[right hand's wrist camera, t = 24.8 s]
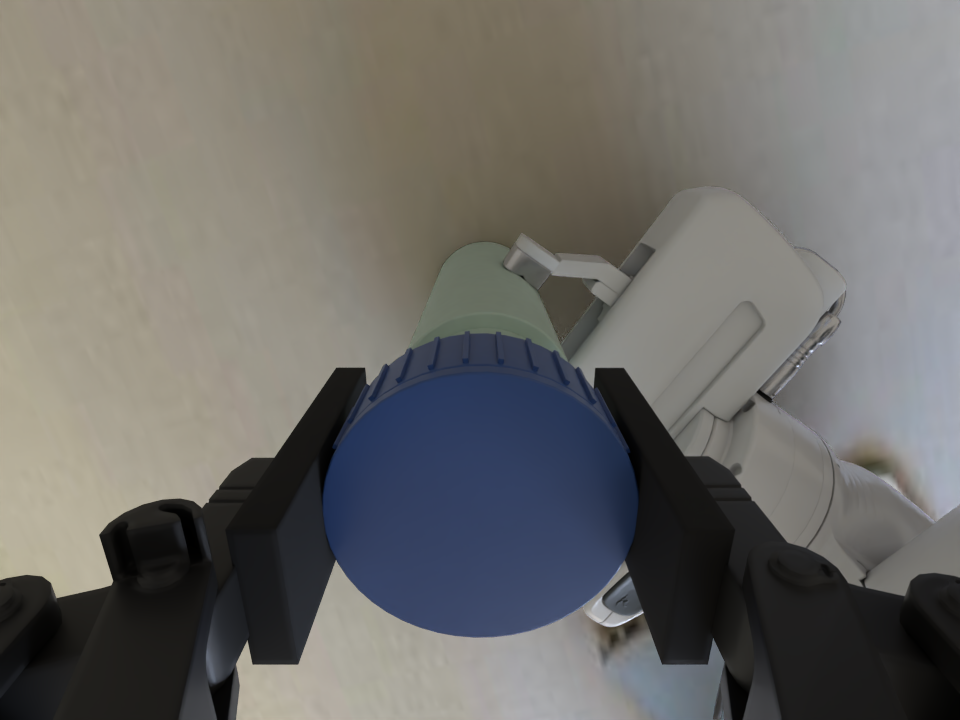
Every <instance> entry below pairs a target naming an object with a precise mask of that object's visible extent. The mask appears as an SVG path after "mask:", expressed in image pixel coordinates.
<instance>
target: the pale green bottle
mask: <svg viewBox="0 0 960 720" xmlns="http://www.w3.org/2000/svg"><path fill="white" fill-rule="evenodd" d="M509 250H510V249H509V248H508V247H506V246H503V245H501V244H497V243H493V242H477V243H472V244H469V245H466V246H464V247H462V248H460V249H458V250H457V251H455V252H454V253H453V254H452V255H451V256H450V257H449V258H448V259H447V260H446V262H445V263H444V265H443V266H442V268H441V270H440V273H439V275H438V277H437V280H436V282H435V285H434V287H433V290H432V292H431V294H430V297H429V299H428V302H427V304H426V307H425V309H424V311H423V314H422V316H421V319H420V321H419V323H418V326H417V328H416V331H415V333H414V336H413V338H412V340H411V343H410V345H409V348H411V349H412V350H413V349H414V348H417V347H419V346H422V345H424V344H426V343H429V342H431V341H434V338H435V337H438V336H439V337H440V339H442V338H445V337H449V336H455V335H462V334H465V331H470V334H475V333H489V334H496V332H501V335H507V336H511V337H515V338H520V339H524V340H526V338H529V339H531V341H532V343H535V344H537V345H540V346H542V347H544V348H546V349H548V350H550V351H552V352H553V351H554V350H556V351H558V352H559V355H560V357H561V358H563V359H564V360H566V361H567V362H568V360H567V358H566V356H565V353H564V351H563V349H562V346H561V344H560V342H559V339H558V337H557V335H556V332H555V330H554V328H553V325H552V323H551V321H550V318H549V316H548V314H547V312H546V309H545V307H544V305H543V302H542V300H541V298H540V295H539V293H538V291H537V289H536V288H534V287H533V286H531V285H530V284H529V283H528V282H527V281H525V279H524V277H523V275H520V276H518V275H516V274H514V273H512V272H511V271H509V270H508V269H507V268H506V267H505V266H504V265H503V260H504V258H505V257H506V255H507V254H508V252H509ZM409 348H408V349H409Z"/></svg>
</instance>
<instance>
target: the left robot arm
mask: <svg viewBox="0 0 960 720" xmlns="http://www.w3.org/2000/svg"><path fill="white" fill-rule="evenodd" d="M503 265H504V266H505V267H506V268H507V269H508V270H509V271H511V272H512V273H514V274H516V275H518V276H520V275H523V277H524V279H525V281H527V282H528V283H529V284H530V285H531V286H533V287H534V288H536V289H537V290H539V288H540V287H541V286H542V285H543V283H544V282H545V281H546V279H547V278H548V277H549V275H550V274H551V275H553V276H565V277H577V278H583V279H582V282H583V284H584V285H585V286H586V287H587V288H588V289H589V291H590V292H591V293H592V294H594V295H595V296H596V298H595V299H594V301H593V302H592V303H591V305H590V306H589V307H588V309H587V310H586V311H585V312H584V314H583V315H582V316H581V318H580V319H579V320H578V322H577V323H576V324H575V326H574V327H573V328H572V329H571V331H570V332H569V333H568V335H567V336H566V337H565V339H564V340H563V341H562V342H561V346H562V349H563V351H564V353H565V356H566V358H567V360H568V363H570V364H571V365H572V366H573V367H574V368H575V369H576V368H577V367H579V368H580V369H581V370H582V372H583V374H584V376H585V378H586V380H587V381H588V382H589V384H590V385H591V386H592V387H593V389H594V376H595V368H624V369H625V370H626V372H627V373H628V374H629V376H630V377H631V379H632V380H633V382H634V383H635V385H636V386H637V387H638V389H639V390H640V392H641V393H642V395H643V396H644V398H645V399H646V401H647V402H648V403H649V405H650V406H651V408H652V409H653V411H654V412H655V414H656V415H657V417H658V418H659V419H660V421H661V422H662V424H663V425H664V427H665V428H666V430H667V431H668V433H669V434H670V435H671V437H672V438H673V440H674V441H675V443H676V444H677V446H678V447H679V449H680V450H681V451H682V453H683V454H684V456H709V457H711V458H712V459H714V460H715V461H717V462H718V463H720V464H721V465H723V466H725V467H726V468H728V469H729V470H730V471H731V473H732V474H733V475H734V476H735V478H736V479H737V480H738V481H739V483H740V484H741V487H742V488H744V489H745V490H746V491H747V493H748V494H749V495H750V496H751V498H752V501H755V502H756V504H757V505H758V506H759V507H760V509H761V510H762V511H763V512H764V514H765V515H766V516H767V517H768V519H769V520H770V521H771V522H772V524H773V525H774V526H775V527H776V529H777V530H778V531H779V532H780V534H781V535H782V536H783V537H784V539H785V540H786V541H787V542H788V543H791V544H794V545H798V546H801V547H805V548H807V549H809V550H811V551H813V552H815V553H817V554H819V555H821V556H823V557H824V558H826V559H827V560H828V561H829V562H831V563H832V564H833V565H835V566H836V567H837V568H838V569H839V570H840V572H841V573H842V575H843V576H844V577H845V579H846V580H847V582H848V583H850V584H853V585H857V586H861V587H865V588H870V589H874V590H879V591H884V592H888V593H893V594H897V595H902V596H905V594H906V592H907V589H908V586H909V583H910V581H911V580H912V579H913V578H915V577H916V576H917V575H919V574H927V573H939V574H946V575H952V576H956V577H960V505H958V506H957V507H956V508H954V509H953V510H952V511H950V512H949V513H948V514H946V515H945V516H944V517H942V518H941V519H939V520H938V521H937V522H935V521H934V520H933V519H931V518H930V517H929V516H928V515H927V514H926V513H925V512H923V511H922V510H921V509H920V508H919V507H917V506H916V505H915V504H914V503H913V502H911V501H910V500H909V499H907V498H906V497H905V496H904V495H902V494H901V493H900V492H898V491H897V490H896V489H894V488H893V487H892V486H890V485H889V484H888V483H886V482H885V481H883V480H882V479H881V478H879V477H878V476H876V475H875V474H873V473H872V472H870V471H868V470H866V469H865V468H863V467H860V466H858V465H855V464H853V463H850V462H846V461H843V460H839V459H838V458H837V456H836V454H835V453H834V452H833V450H832V449H831V448H830V447H829V445H828V444H827V443H826V442H825V441H824V440H823V439H822V438H821V437H820V436H819V435H818V434H817V433H815V432H814V431H813V430H811V429H810V428H808V427H807V426H805V425H804V424H803V423H801V422H800V421H798V420H797V419H795V418H794V417H793V416H791V415H790V414H788V413H787V412H786V411H784V410H783V409H781V408H780V407H778V406H777V405H775V404H774V403H773V401H772V399H773V398H774V397H775V396H776V395H777V394H778V393H779V392H780V391H781V389H782V388H783V387H784V386H785V385H786V384H787V383H788V382H789V381H790V380H791V379H792V378H793V377H794V376H795V374H796V373H797V372H798V371H799V370H800V369H799V368H801V367H802V365H803V363H804V362H805V361H806V360H807V358H809V357H810V355H811V353H813V352H814V351H815V350H816V349H817V348H818V347H819V346H822V345H823V344H825V343H826V342H827V341H828V340H829V339H830V338H831V337H832V335H833V334H834V333H835V332H836V330H837V329H838V327H839V326H840V324H841V320H840V319H839V318H837V316H838V315H839V313H840V311H841V309H842V307H843V305H844V301H845V297H846V286H847V284H846V282H845V280H844V278H843V276H842V275H841V274H840V273H839V272H838V270H837V269H836V268H834V267H833V266H832V265H830V264H829V263H828V262H827V261H825V260H824V259H823V258H822V257H820V256H819V255H818V254H817V253H815V252H814V251H812V250H810V249H806V248H803V247H793V246H792V245H791V244H790V243H789V242H788V241H787V240H786V239H785V237H784V236H783V235H782V234H781V233H780V232H779V231H778V230H777V229H776V228H775V227H774V226H773V225H772V224H771V223H770V222H769V221H768V220H767V219H766V218H765V217H764V216H763V215H762V214H761V213H760V212H759V211H758V210H757V209H756V208H754V207H753V206H752V205H751V204H750V203H749V202H748V201H746V200H745V199H744V198H743V197H742V196H740V195H739V194H737V193H736V192H733V191H731V190H728V189H725V188H720V187H710V186H709V187H698V188H691V189H685V190H681V191H679V192H678V193H676V194H675V195H674V196H673V198H672V199H671V200H670V202H669V203H668V204H667V205H666V207H665V208H664V209H663V211H662V212H661V213H660V215H659V216H658V217H657V219H656V220H655V221H654V222H653V224H652V225H651V226H650V228H649V229H648V230H647V232H646V233H645V234H644V235H643V237H642V238H641V239H640V241H639V242H638V243H637V245H636V246H635V247H634V249H633V250H632V251H631V252H630V254H629V255H628V256H627V258H626V259H625V260H624V262H623V263H622V264H621V266H620V267H619V268H616V267H615V266H613V265H612V264H611V263H609V262H608V261H606V260H605V259H603V258H602V257H601V256H599V255H585V254H569V253H555V255H554V254H552V253H551V252H549V251H548V250H546V249H545V248H544V247H542V246H541V245H539V244H538V243H536V242H535V241H534V240H532V239H531V238H529V237H528V236H526V235H524V234H523V233H521V234H520V236H519V237H518V239H517V240H516V242H515V243H514V244H513V246H512V247H511V249H510V250H509V252H508V254H507V255H506V257H505V258H504V260H503ZM830 307H831V308H830ZM829 308H830V309H829ZM828 309H829V311H827V310H828ZM583 609H584V611H585V613H586V615H587V616H588V617H589V618H591V619H592V620H594V621H595V622H597V623H599V624H601V625H604V626H607V627H615V626H619V625H621V624H624V623H626V622H628V621H630V620H631V619H633V618H635V617H637V616H639V615H640V614H642V613H643V610H642V607H641V604H640V601H639V599H638V596H637V593H636V590H635V588H634V585H633V582H632V579H631V576H630V574H629V571H628V568H627V565H626V563H625V560H624V562H623V563H622V565H621V567H620V568H619V570H618V572H617V573H616V574H615V576H614V577H613V578H612V579H611V580H610V582H609V583H608V584H607V585H606V586H605V587H604V588H603V589H602V590H601V591H600V592H599V593H598V594H597V595H596V596H595V597H594V598H593V599H591V600H590V601H589V602H587V603H586V604H585V605H584V606H583Z"/></svg>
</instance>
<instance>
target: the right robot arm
mask: <svg viewBox="0 0 960 720" xmlns="http://www.w3.org/2000/svg"><path fill="white" fill-rule="evenodd" d="M365 385H366V372H365V368H336V369H335V371H334V372H333V373H332V375H331V376H330V378H329V379H328V381H327V382H326V384H325V385H324V387H323V388H322V389H321V391H320V392H319V394H318V395H317V397H316V398H315V400H314V401H313V403H312V404H311V405H310V407H309V408H308V410H307V411H306V413H305V414H304V416H303V417H302V419H301V420H300V421H299V423H298V424H297V426H296V427H295V429H294V430H293V432H292V433H291V435H290V436H289V437H288V439H287V440H286V442H285V443H284V445H283V446H282V448H281V449H280V451H279V452H278V453H277V455H276V456H275V458H251V459H249V460H248V461H246V462H245V463H243V464H242V465H240V466H239V467H237V468H236V469H234V470H233V471H231V473H230V474H229V475H228V476H227V478H226V479H225V480H224V481H223V483H222V484H221V485H220V486H219V490H216V491H215V493H214V494H213V495H212V497H211V498H210V499H209V503H206V504H205V505H204V507H203V508H201V507H200V506H199V505H197V504H196V503H195V502H194V501H189V500H184V499H166V500H159V501H155V502H152V503H148V504H144V505H141V506H139V507H137V508H134V509H132V510H130V511H127V512H125V513H123V514H122V515H120V516H119V517H118V518H116V519H115V520H113V521H112V522H110V523H109V524H108V525H107V526H106V527H105V529H104V530H103V531H102V532H101V533H100V535H99V536H100V539H101V542H102V546H103V549H104V552H105V555H106V559H107V562H108V565H109V568H110V572H111V575H112V578H113V583H112V586H108V587H105V588H101V589H96V590H92V591H87V592H83V593H78V594H74V595H69V596H65V597H60V598H56V596H55V593H54V590H53V588H52V585H51V583H50V582H49V581H47V580H46V579H45V578H43V577H42V576H32V575H24V576H17V577H11V578H6V579H3V580H0V720H236V713H237V705H238V696H239V687H240V685H239V678H238V672H237V667H236V663H237V660H238V658H239V656H240V654H241V652H242V650H243V648H244V646H245V644H246V642H247V640H248V644H249V649H250V654H251V659H252V664H299V661H300V658H301V655H302V652H303V650H304V647H305V644H306V641H307V638H308V636H309V633H310V630H311V627H312V625H313V622H314V619H315V616H316V613H317V611H318V608H319V605H320V602H321V600H322V597H323V594H324V591H325V588H326V586H327V583H328V580H329V577H330V575H331V572H332V569H333V566H334V563H335V561H336V558H335V556H334V554H333V552H332V550H331V548H330V545H329V542H328V539H327V536H326V532H325V525H324V517H323V508H322V492H323V486H324V480H325V476H326V473H327V470H328V467H329V464H330V461H331V458H332V456H333V454H334V452H335V450H336V449H333V448H332V447H333V445H334V443H335V441H336V439H337V437H338V435H339V433H340V431H341V429H342V427H343V425H344V423H345V421H346V419H347V417H348V415H349V413H350V411H351V409H352V407H354V406H355V404H356V402H357V400H358V398H359V396H360V394H361V392H362V390H363V388H364V387H365ZM595 388H598V390H599V391H600V393H601V395H602V397H603V399H604V401H605V403H606V405H607V407H608V409H609V411H610V412H611V414H612V416H613V418H614V420H615V422H616V424H617V426H618V428H619V430H620V432H621V434H622V436H623V438H624V440H625V442H626V443H627V445H628V447H629V450H630V453H627V454H628V456H629V459H630V461H631V464H632V466H633V469H634V472H635V476H636V481H637V485H638V493H639V503H638V512H637V520H636V528H635V535H634V539H633V542H632V545H631V547H630V550H629V552H628V554H627V557H626V558H625V563H626V565H627V568H628V571H629V574H630V576H631V579H632V582H633V585H634V588H635V590H636V593H637V596H638V599H639V601H640V604H641V607H642V610H643V613H644V615H645V618H646V621H647V624H648V626H649V629H650V632H651V635H652V638H653V640H654V643H655V646H656V649H657V652H658V654H659V657H660V660H661V663H662V664H708V660H709V655H710V651H711V646H712V641H713V638H714V641H715V643H716V645H717V647H718V649H719V651H720V653H721V655H722V657H723V659H724V661H725V663H724V667H723V672H722V676H721V681H720V686H719V690H718V695H717V699H716V704H715V709H714V716H713V719H715V720H721V717H722V712H724V720H960V577H956V576H952V575H946V574H939V573H927V574H919V575H917V576H916V577H915V578H913V579H912V580H911V581H910V583H909V586H908V589H907V592H906V594H905V596H902V595H897V594H893V593H888V592H884V591H879V590H874V589H870V588H865V587H861V586H857V585H853V584H850V583H848V582H847V580H846V579H845V577H844V576H843V575H842V573H841V572H840V570H839V569H838V568H837V567H836V566H835V565H833V564H832V563H831V562H829V561H828V560H827V559H826V558H824V557H823V556H821V555H819V554H817V553H815V552H813V551H811V550H809V549H807V548H805V547H801V546H798V545H794V544H791V543H788V542H787V541H786V540H785V539H784V537H783V536H782V535H781V534H780V532H779V531H778V530H777V529H776V527H775V526H774V525H773V524H772V522H771V521H770V520H769V519H768V517H767V516H766V515H765V514H764V512H763V511H762V510H761V509H760V507H759V506H758V505H757V504H756V502H755V501H752V498H751V496H750V495H749V494H748V493H747V491H746V490H745V489H744V488H742V487H741V484H740V483H739V481H738V480H737V479H736V478H735V476H734V475H733V474H732V473H731V471H730V470H729V469H728V468H726V467H725V466H723V465H721V464H720V463H718V462H717V461H715V460H714V459H712V458H711V457H709V456H684V454H683V453H682V451H681V450H680V449H679V447H678V446H677V444H676V443H675V441H674V440H673V438H672V437H671V435H670V434H669V433H668V431H667V430H666V428H665V427H664V425H663V424H662V422H661V421H660V419H659V418H658V417H657V415H656V414H655V412H654V411H653V409H652V408H651V406H650V405H649V403H648V402H647V401H646V399H645V398H644V396H643V395H642V393H641V392H640V390H639V389H638V387H637V386H636V385H635V383H634V382H633V380H632V379H631V377H630V376H629V374H628V373H627V372H626V370H625V369H624V368H595V376H594V389H595Z"/></svg>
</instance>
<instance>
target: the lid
mask: <svg viewBox="0 0 960 720" xmlns="http://www.w3.org/2000/svg"><path fill="white" fill-rule="evenodd" d="M332 448H333V449H336V450H335V452H334V454H333V456H332V458H331V461H330V464H329V467H328V470H327V473H326V476H325V480H324V486H323V492H322V508H323V517H324V525H325V532H326V536H327V539H328V542H329V545H330V548H331V550H332V552H333V554H334V556H335V558H336V560H337V562H338V564H339V565H340V567H341V568H342V570H343V571H344V573H345V574H346V576H347V577H348V578H349V580H350V581H351V582H352V583H353V584H354V585H355V586H356V587H357V589H358V590H359V591H360V592H362V593H363V594H364V595H365V596H366V597H367V598H368V599H369V600H371V601H372V602H373V603H375V604H376V605H377V606H379V607H380V608H382V609H383V610H385V611H386V612H388V613H390V614H391V615H393V616H395V617H397V618H399V619H401V620H403V621H405V622H408V623H410V624H412V625H415V626H417V627H420V628H423V629H427V630H430V631H434V632H437V633H442V634H448V635H453V636H463V637H499V636H507V635H514V634H518V633H523V632H527V631H531V630H534V629H537V628H540V627H543V626H546V625H549V624H551V623H553V622H556V621H558V620H560V619H562V618H564V617H566V616H568V615H569V614H571V613H573V612H574V611H576V610H578V609H580V608H581V607H582V606H584V605H585V604H586V603H587V602H589V601H590V600H591V599H593V598H594V597H595V596H596V595H597V594H598V593H599V592H600V591H601V590H602V589H603V588H604V587H605V586H606V585H607V584H608V583H609V582H610V580H611V579H612V578H613V577H614V576H615V574H616V573H617V572H618V570H619V568H620V567H621V565H622V563H623V562H624V560H625V558H626V557H627V554H628V552H629V550H630V547H631V545H632V542H633V539H634V535H635V528H636V520H637V512H638V503H639V493H638V485H637V481H636V476H635V472H634V469H633V466H632V464H631V461H630V459H629V456H628V454H627V453H630V450H629V447H628V445H627V443H626V442H625V440H624V438H623V436H622V434H621V432H620V430H619V428H618V426H617V424H616V422H615V420H614V418H613V416H612V414H611V412H610V411H609V409H608V407H607V405H606V403H605V401H604V399H603V397H602V395H601V393H600V391H599V390H598V388H595V389H593V387H592V386H591V385H590V384H589V382H588V381H587V380H586V378H585V376H584V374H583V372H582V370H581V369H580V368H579V367H577V368H576V369H575V368H574V367H573V366H572V365H571V364H570V363H568V362H567V361H566V360H564V359H563V358H561V357H560V355H559V352H558V351H556V350H554V351H553V352H552V351H550V350H548V349H546V348H544V347H542V346H540V345H537V344H535V343H532V341H531V339H529V338H526V340H524V339H520V338H515V337H511V336H507V335H501V332H496V334H489V333H475V334H470V331H465V334H462V335H455V336H449V337H445V338H442V339H440V337H439V336H438V337H435V338H434V341H431V342H429V343H426V344H424V345H422V346H419V347H417V348H414V349H413V350H412V349H411V348H409V349H407V350H406V353H405V354H404V355H403V356H401V357H399V358H398V359H397V360H395V361H394V362H393V363H391V364H390V365H389V366H388V365H387V364H385V365H384V366H383V367H382V369H381V371H380V374H379V375H378V376H377V377H376V378H375V380H374V381H373V382H372V383H371V385H370V386H369V385H368V384H366V385H365V387H364V388H363V390H362V392H361V394H360V396H359V398H358V400H357V402H356V404H355V406H354V407H352V409H351V411H350V413H349V415H348V417H347V419H346V421H345V423H344V425H343V427H342V429H341V431H340V433H339V435H338V437H337V439H336V441H335V443H334V445H333V447H332Z"/></svg>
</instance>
